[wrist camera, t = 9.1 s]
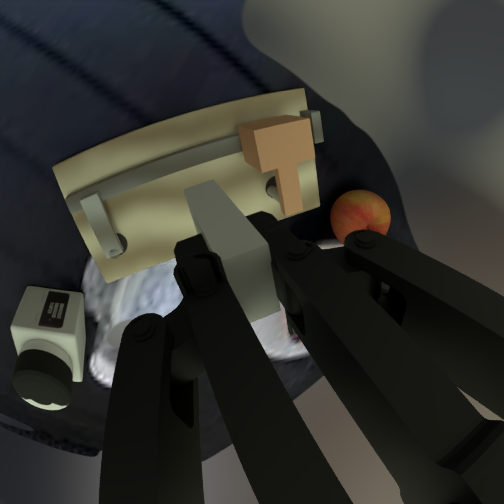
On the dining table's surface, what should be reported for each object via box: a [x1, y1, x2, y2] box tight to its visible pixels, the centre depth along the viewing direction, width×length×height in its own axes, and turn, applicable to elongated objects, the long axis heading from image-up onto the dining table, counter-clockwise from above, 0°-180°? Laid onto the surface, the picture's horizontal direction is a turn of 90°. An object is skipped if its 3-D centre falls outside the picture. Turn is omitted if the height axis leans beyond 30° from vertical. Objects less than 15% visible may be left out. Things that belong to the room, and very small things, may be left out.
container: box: [11, 286, 86, 410], centre depth 25 cm, size 8×8×13 cm
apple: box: [330, 190, 391, 245], centre depth 34 cm, size 7×7×8 cm
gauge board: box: [52, 88, 324, 283], centre depth 28 cm, size 14×26×4 cm, turn 102°
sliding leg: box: [237, 114, 315, 216], centre depth 26 cm, size 8×5×6 cm, turn 12°
